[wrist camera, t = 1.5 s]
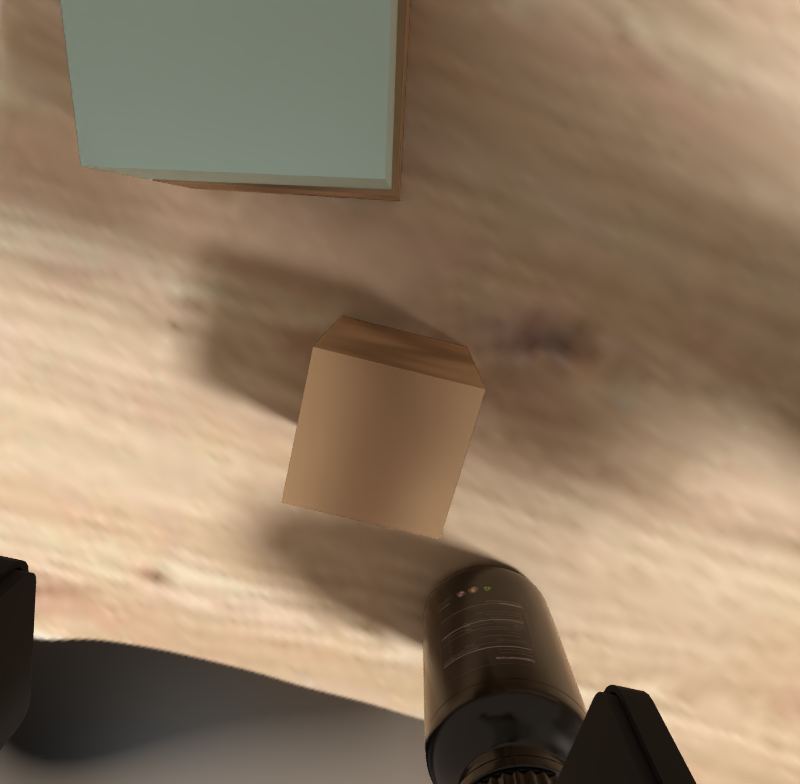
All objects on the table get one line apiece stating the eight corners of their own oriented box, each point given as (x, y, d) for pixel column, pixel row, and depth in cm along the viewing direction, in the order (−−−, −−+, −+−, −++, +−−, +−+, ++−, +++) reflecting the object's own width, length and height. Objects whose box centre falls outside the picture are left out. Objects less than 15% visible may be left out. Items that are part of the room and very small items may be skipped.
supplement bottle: (560, 649, 29) (653, 917, 18) (442, 675, 30) (458, 949, 19) (531, 545, 27) (614, 770, 16) (406, 576, 28) (399, 812, 17)
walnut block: (466, 346, 25) (486, 389, 18) (433, 461, 26) (439, 539, 20) (341, 315, 24) (313, 346, 18) (316, 433, 26) (281, 502, 19)
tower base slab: (413, -44, 20) (412, -108, 17) (399, 201, 23) (396, 195, 19) (183, -57, 21) (130, -124, 17) (195, 188, 23) (152, 180, 19)
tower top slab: (402, -116, 17) (397, -220, 13) (391, 189, 19) (385, 179, 15) (119, -125, 17) (31, -230, 13) (147, 179, 19) (80, 166, 16)
